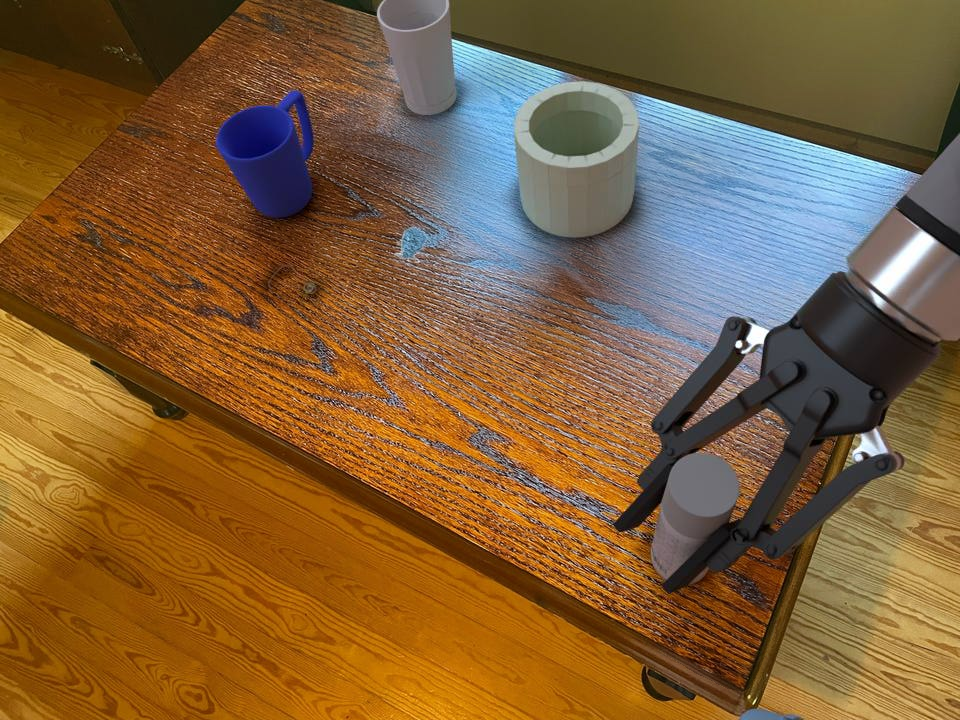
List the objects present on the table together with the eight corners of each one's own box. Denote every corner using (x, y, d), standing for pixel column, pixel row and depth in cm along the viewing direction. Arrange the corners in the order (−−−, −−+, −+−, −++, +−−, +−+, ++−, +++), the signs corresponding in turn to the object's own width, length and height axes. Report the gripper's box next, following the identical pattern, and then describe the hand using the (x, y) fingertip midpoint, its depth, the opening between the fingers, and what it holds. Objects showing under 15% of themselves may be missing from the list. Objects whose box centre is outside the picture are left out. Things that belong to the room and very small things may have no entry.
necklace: (314, 295, 81) (311, 290, 80) (265, 292, 82) (262, 287, 81) (322, 271, 83) (320, 265, 82) (274, 267, 84) (272, 262, 83)
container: (706, 592, 61) (738, 526, 49) (646, 578, 62) (661, 510, 50) (713, 535, 64) (745, 458, 51) (655, 523, 65) (671, 444, 52)
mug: (350, 159, 91) (326, 89, 83) (296, 235, 86) (265, 168, 78) (292, 144, 94) (263, 75, 86) (236, 216, 89) (199, 150, 80)
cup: (457, 120, 93) (441, 31, 83) (392, 119, 94) (369, 31, 84) (468, 75, 97) (455, -15, 87) (406, 74, 98) (385, -14, 88)
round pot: (654, 181, 84) (662, 107, 76) (592, 255, 80) (593, 185, 72) (562, 140, 89) (560, 67, 81) (499, 208, 85) (489, 137, 76)
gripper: (1037, 411, 44) (759, 647, 55) (802, 223, 53) (601, 458, 63) (1016, 417, 38) (710, 679, 49) (757, 207, 47) (545, 467, 58)
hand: (649, 554), depth 56 cm, fingers closed on container, 5 cm apart
